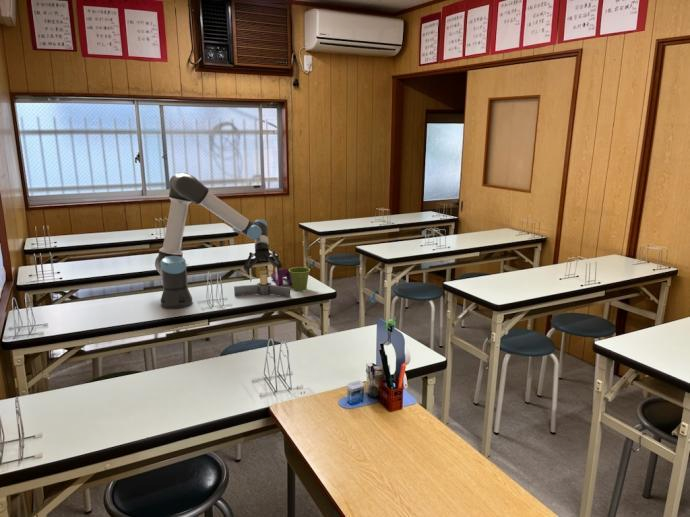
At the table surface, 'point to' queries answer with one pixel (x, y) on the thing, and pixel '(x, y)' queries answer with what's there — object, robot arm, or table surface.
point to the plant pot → (299, 278)
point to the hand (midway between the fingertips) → (263, 279)
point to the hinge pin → (263, 278)
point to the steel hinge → (262, 290)
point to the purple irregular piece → (280, 277)
